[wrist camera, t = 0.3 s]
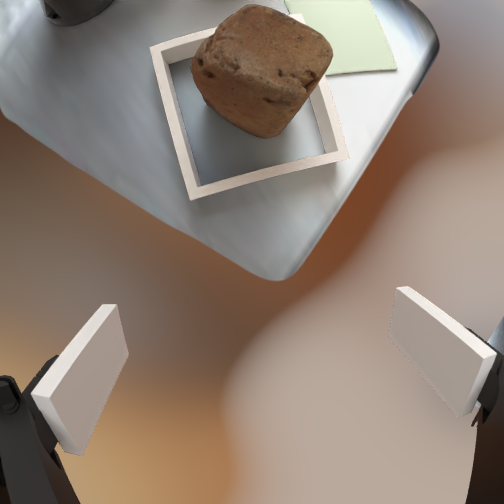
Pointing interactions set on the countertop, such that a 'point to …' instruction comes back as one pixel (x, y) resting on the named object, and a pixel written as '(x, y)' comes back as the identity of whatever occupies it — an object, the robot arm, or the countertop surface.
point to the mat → (348, 33)
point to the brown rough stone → (260, 68)
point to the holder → (333, 149)
